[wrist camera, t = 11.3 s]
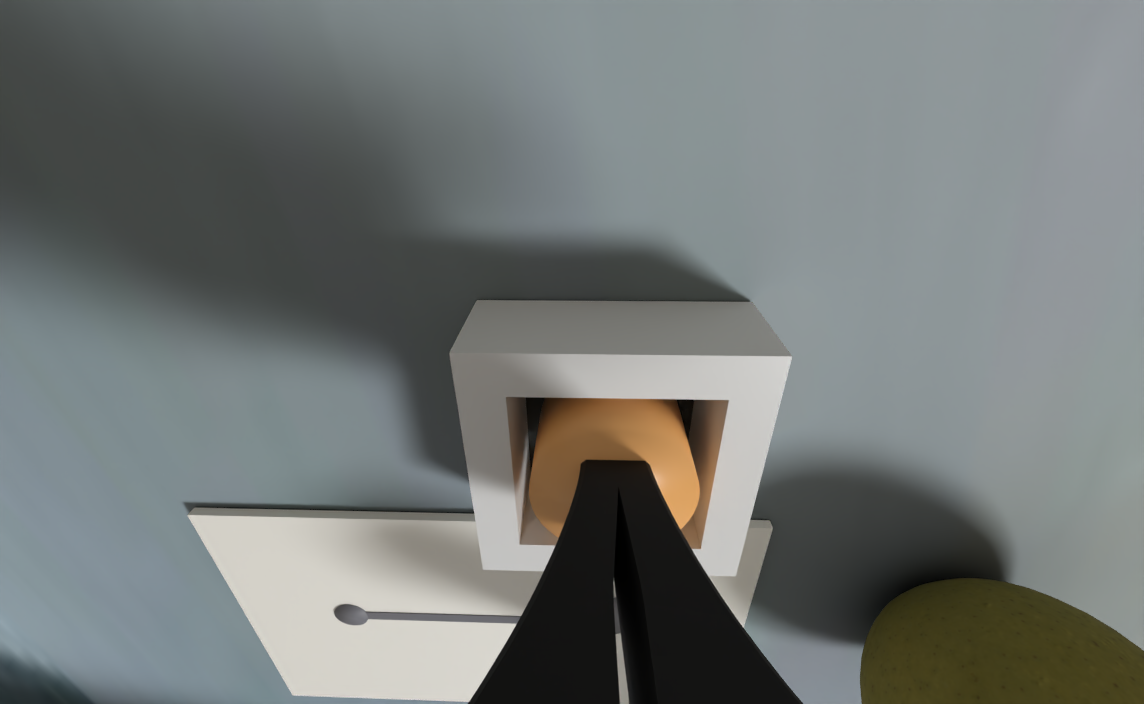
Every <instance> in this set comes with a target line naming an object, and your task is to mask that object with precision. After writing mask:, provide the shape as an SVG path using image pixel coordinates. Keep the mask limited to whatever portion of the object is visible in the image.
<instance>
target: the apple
mask: <svg viewBox="0 0 1144 704" xmlns="http://www.w3.org/2000/svg"><path fill="white" fill-rule="evenodd" d="M860 688H861V700H862V704H1144V651H1143V650H1142V649H1141V648H1139V647H1138V646H1136V645H1135V644H1134V643H1132V642H1131V641H1129V640H1128V639H1127V638H1125V637H1124V636H1123V635H1121V634H1120V633H1118V632H1117V631H1116V630H1114V629H1112V628H1111V627H1109V626H1107V625H1106V624H1104V623H1102V622H1101V621H1099V620H1097V619H1096V618H1094V617H1092V616H1091V615H1089V614H1087V613H1085V612H1083V611H1081V610H1079V609H1077V608H1075V607H1073V606H1071V605H1069V604H1066V603H1064V602H1062V601H1060V600H1058V599H1056V598H1053V597H1051V596H1049V595H1046V594H1043V593H1040V592H1038V591H1035V590H1032V589H1030V588H1026V587H1023V586H1019V585H1015V584H1011V583H1007V582H1003V581H997V580H989V579H980V578H957V579H948V580H941V581H935V582H930V583H926V584H923V585H920V586H917V587H915V588H912V589H910V590H908V591H906V592H904V593H902V594H901V595H899V596H897V597H896V598H894V599H893V600H892V601H890V602H889V603H888V604H887V605H886V606H885V607H884V609H883V610H882V611H881V612H880V614H879V615H878V616H877V618H876V619H875V621H874V623H873V625H872V627H871V629H870V631H869V633H868V635H867V638H866V642H865V645H864V649H863V653H862V658H861V672H860Z"/></svg>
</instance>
